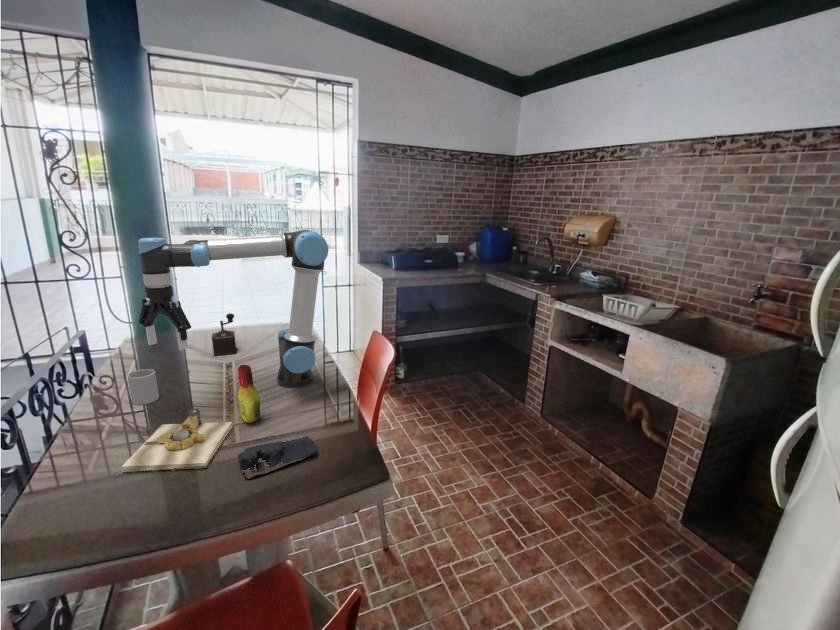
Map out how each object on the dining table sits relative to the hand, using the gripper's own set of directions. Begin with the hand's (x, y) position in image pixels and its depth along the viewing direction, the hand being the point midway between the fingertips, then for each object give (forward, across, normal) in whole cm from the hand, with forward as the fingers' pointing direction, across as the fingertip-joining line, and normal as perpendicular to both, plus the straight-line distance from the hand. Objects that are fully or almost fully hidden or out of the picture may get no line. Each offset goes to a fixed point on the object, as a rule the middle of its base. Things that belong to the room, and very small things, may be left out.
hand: (168, 346), depth 134 cm
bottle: (+26, -26, -6) cm, 37 cm away
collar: (+23, -18, +13) cm, 32 cm away
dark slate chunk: (+26, -50, +10) cm, 57 cm away
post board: (+25, -20, +16) cm, 36 cm away
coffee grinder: (+26, +31, -57) cm, 70 cm away
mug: (+25, +20, -5) cm, 33 cm away
